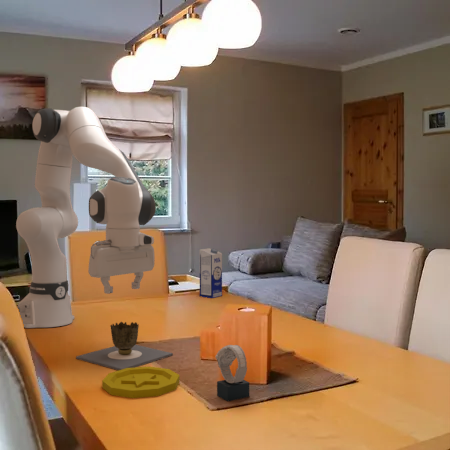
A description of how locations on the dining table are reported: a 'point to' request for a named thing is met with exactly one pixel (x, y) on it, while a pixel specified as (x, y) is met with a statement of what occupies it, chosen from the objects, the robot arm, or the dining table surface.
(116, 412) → the dining table surface
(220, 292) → the milk carton
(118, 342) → the cup
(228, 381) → the watch
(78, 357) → the charcoal mat
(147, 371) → the decorative disc
